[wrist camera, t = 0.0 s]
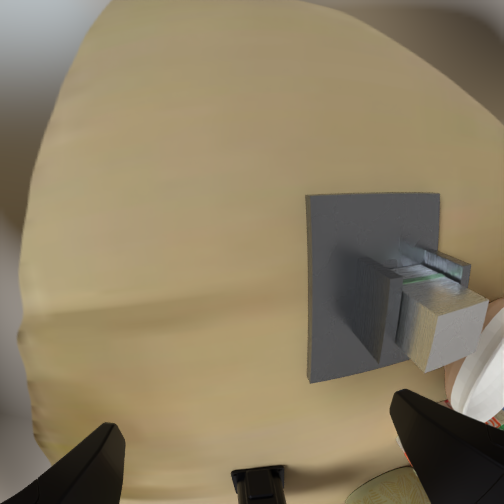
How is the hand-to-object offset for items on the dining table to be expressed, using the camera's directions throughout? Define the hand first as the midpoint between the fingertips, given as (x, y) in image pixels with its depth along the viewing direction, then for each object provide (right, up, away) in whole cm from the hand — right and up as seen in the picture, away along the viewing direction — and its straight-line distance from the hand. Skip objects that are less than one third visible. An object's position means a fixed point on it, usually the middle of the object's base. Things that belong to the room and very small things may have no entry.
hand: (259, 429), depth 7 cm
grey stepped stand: (+10, +2, +16) cm, 19 cm away
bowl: (+28, -6, +20) cm, 34 cm away
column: (+12, +2, +14) cm, 19 cm away
